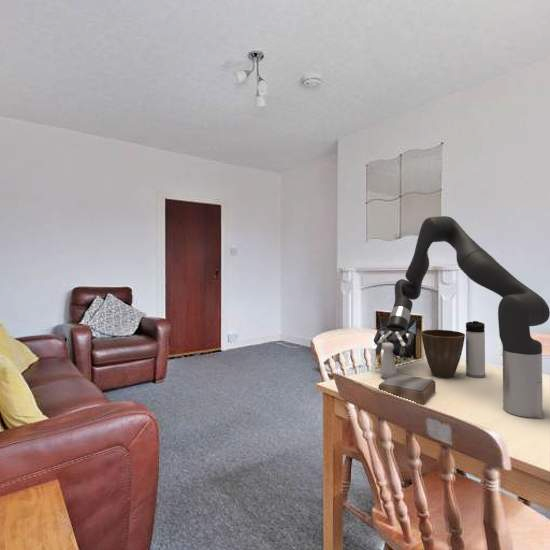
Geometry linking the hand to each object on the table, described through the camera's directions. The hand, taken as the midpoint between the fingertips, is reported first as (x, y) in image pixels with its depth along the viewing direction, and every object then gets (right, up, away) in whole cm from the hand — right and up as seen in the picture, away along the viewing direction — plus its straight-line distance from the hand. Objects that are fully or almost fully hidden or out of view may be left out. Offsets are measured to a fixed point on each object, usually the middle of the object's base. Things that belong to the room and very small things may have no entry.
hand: (389, 355), depth 138 cm
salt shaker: (-1, -9, -1) cm, 9 cm away
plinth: (0, -9, -18) cm, 20 cm away
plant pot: (+21, -8, +1) cm, 22 cm away
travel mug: (+32, -8, 0) cm, 33 cm away
